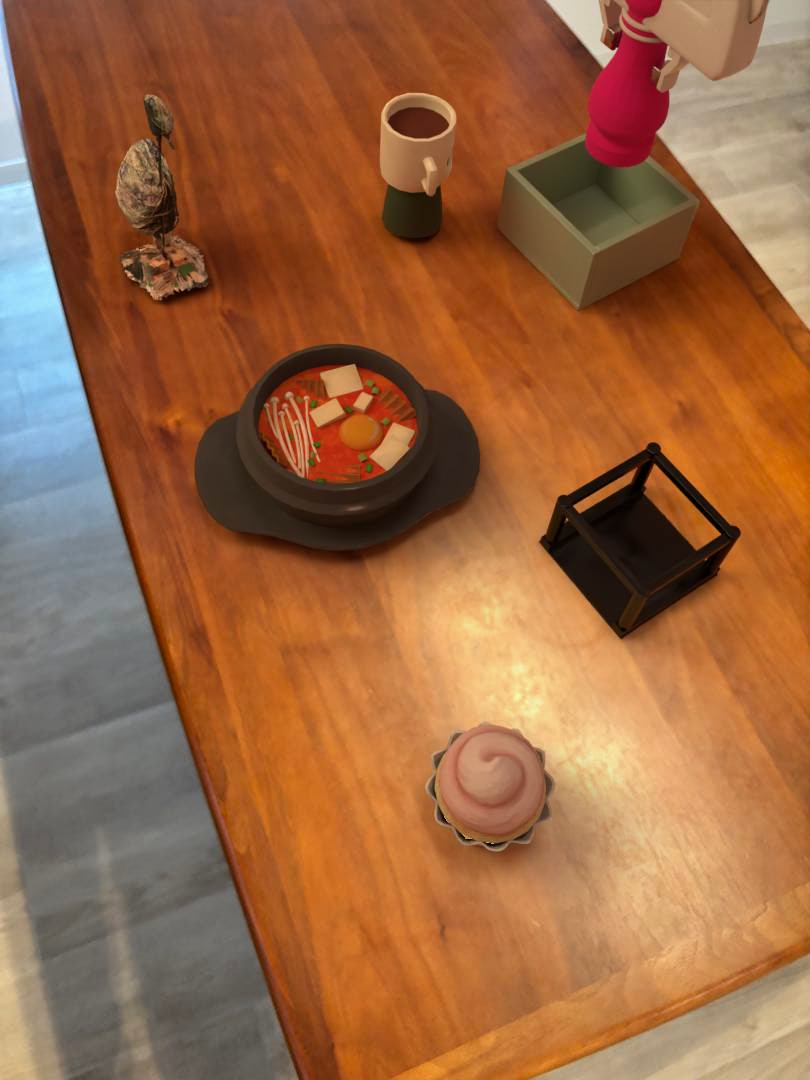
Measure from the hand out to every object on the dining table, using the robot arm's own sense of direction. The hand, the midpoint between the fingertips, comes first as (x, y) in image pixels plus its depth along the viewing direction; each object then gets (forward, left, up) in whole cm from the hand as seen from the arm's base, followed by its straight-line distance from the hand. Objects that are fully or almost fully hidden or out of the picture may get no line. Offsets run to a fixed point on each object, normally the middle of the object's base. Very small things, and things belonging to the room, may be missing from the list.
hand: (636, 64), depth 87 cm
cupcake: (+44, +41, -21) cm, 64 cm away
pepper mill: (0, 0, -9) cm, 9 cm away
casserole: (+37, +10, -21) cm, 44 cm away
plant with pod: (+39, -20, -21) cm, 48 cm away
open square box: (0, 0, -21) cm, 21 cm away
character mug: (+14, -12, -21) cm, 28 cm away
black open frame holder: (+21, +31, -21) cm, 43 cm away
